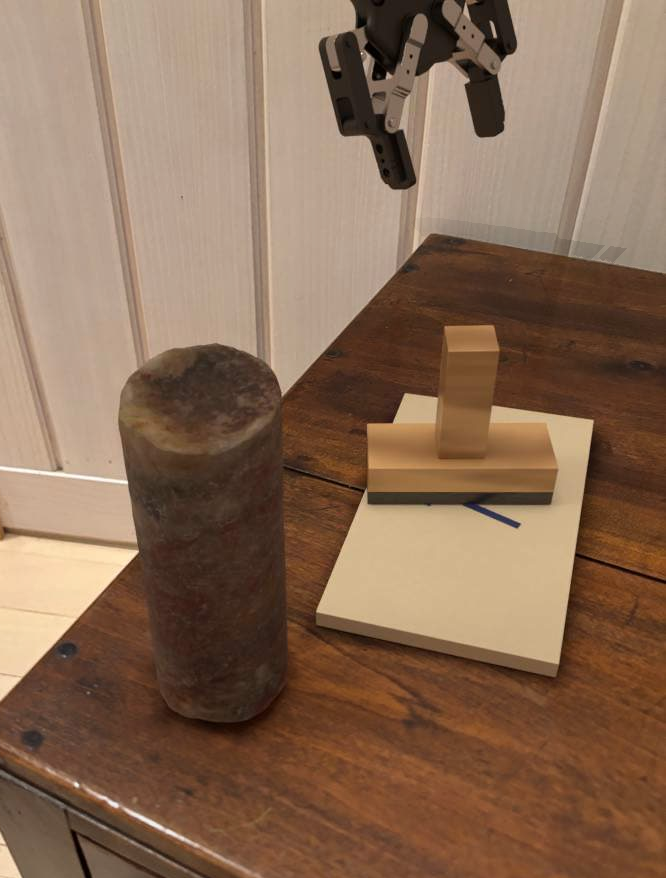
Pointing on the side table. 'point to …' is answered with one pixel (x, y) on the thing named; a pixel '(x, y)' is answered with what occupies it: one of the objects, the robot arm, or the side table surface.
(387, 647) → the side table surface
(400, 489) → the eraser
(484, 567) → the board
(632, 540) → the side table surface
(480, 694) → the side table surface
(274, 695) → the dark brown cylinder
